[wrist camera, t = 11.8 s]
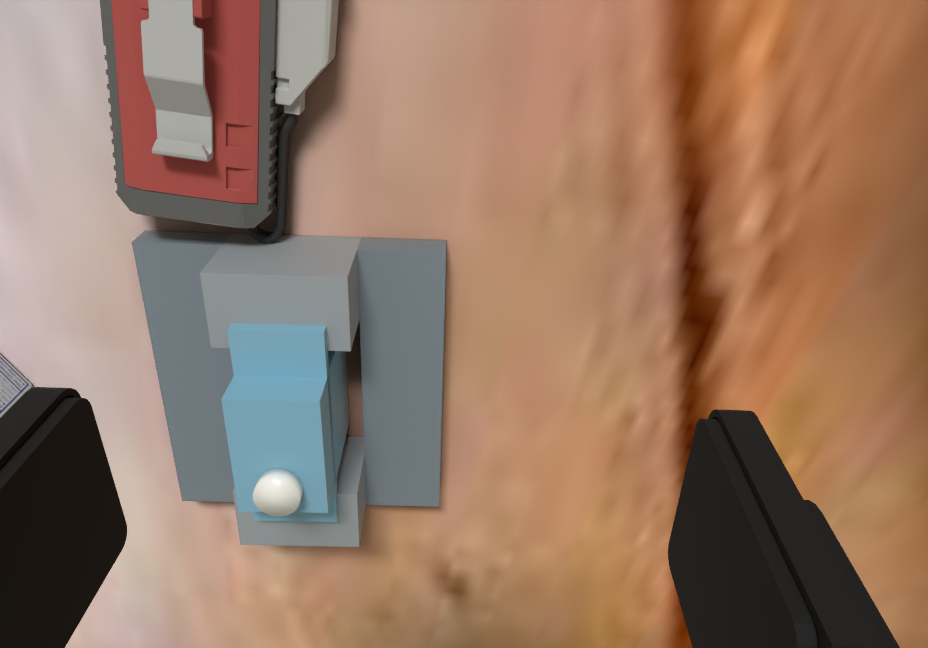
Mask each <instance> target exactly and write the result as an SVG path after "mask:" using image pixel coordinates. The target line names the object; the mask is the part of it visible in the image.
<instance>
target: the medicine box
mask: <svg viewBox="0 0 928 648" xmlns="http://www.w3.org/2000/svg"><path fill="white" fill-rule="evenodd" d="M31 388H32V384H31V383H30V382H29V381H28V380H27V379H26V378H25V377H24V376H23V375H22V374H21V373H19V372H18V371H17V370H16V369H15V368H14V367H13V366H12V365H11V364H10V363H9V362H8V361H7V360H6V359H5V358H4V357H3V356H2V355H1V354H0V418H1V417H2V416H3V415H4V414H5V413H6V411H7V410H8V409H9V408H10V407H11V406H12V405H13V404H14V403H15V402H16V401H17V400H18V399H19V398H20V397H21V396H22V395H23V394H24V393H25V392H27V391H28V390H29V389H31Z"/></svg>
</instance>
